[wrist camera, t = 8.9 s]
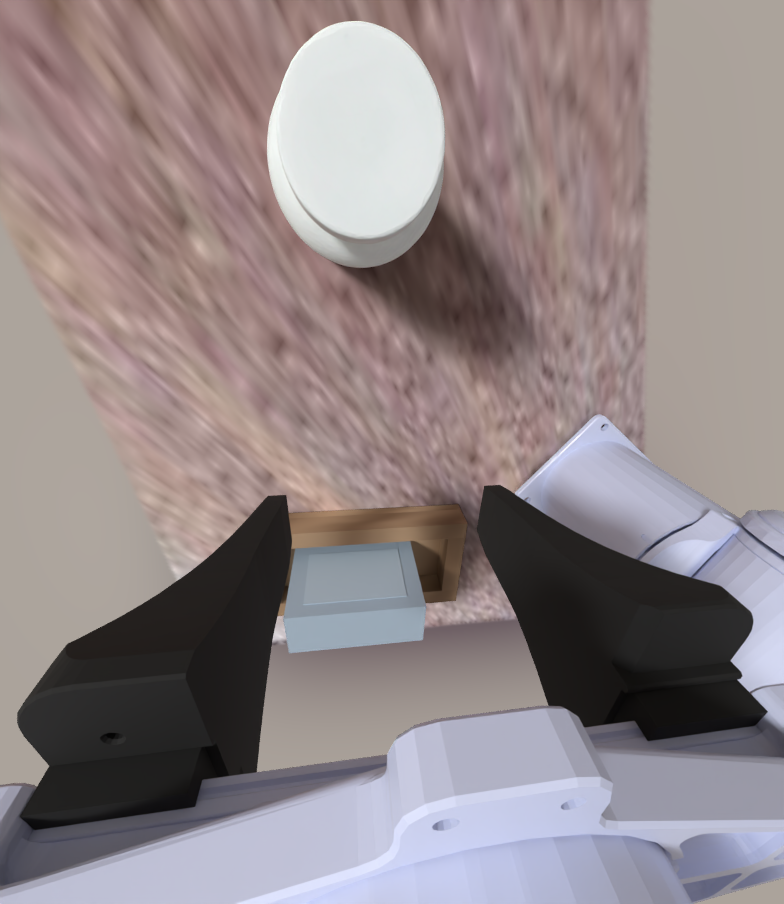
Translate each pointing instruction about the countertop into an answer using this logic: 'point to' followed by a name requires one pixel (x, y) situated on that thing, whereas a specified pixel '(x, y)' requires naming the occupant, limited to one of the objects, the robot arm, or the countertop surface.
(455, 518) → the wooden tray
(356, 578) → the grey rectangular block
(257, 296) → the countertop surface
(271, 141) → the supplement bottle
